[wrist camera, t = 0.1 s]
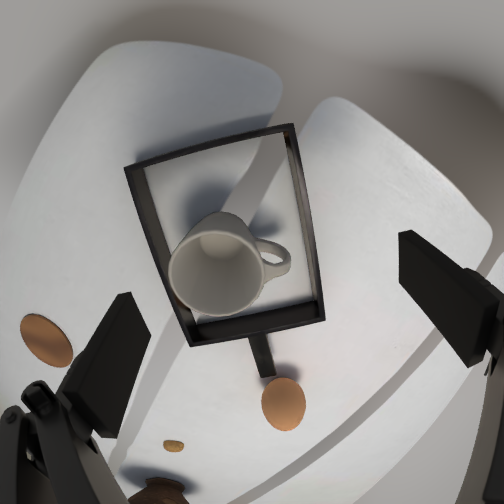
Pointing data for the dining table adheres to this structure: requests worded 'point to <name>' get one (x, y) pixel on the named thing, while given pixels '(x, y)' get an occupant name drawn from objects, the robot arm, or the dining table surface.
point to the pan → (245, 325)
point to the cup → (223, 266)
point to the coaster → (46, 341)
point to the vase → (160, 493)
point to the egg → (283, 404)
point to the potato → (173, 446)
